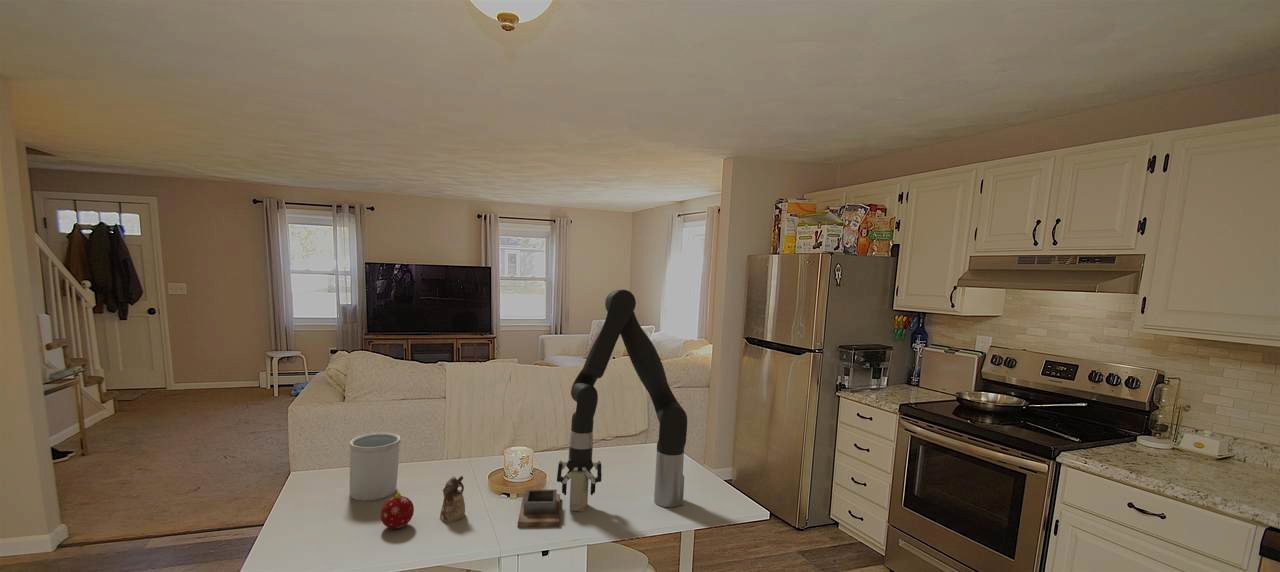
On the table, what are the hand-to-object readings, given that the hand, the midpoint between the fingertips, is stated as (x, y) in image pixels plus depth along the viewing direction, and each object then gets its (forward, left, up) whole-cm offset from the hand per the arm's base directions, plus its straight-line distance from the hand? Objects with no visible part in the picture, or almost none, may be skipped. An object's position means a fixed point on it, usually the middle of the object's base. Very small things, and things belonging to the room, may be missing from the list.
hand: (578, 494), depth 163 cm
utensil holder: (+67, -13, -4) cm, 68 cm away
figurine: (+38, +5, -4) cm, 38 cm away
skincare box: (0, 0, -4) cm, 4 cm away
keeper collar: (+12, +3, -3) cm, 12 cm away
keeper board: (+12, +3, -4) cm, 13 cm away
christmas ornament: (+52, +11, -4) cm, 53 cm away
